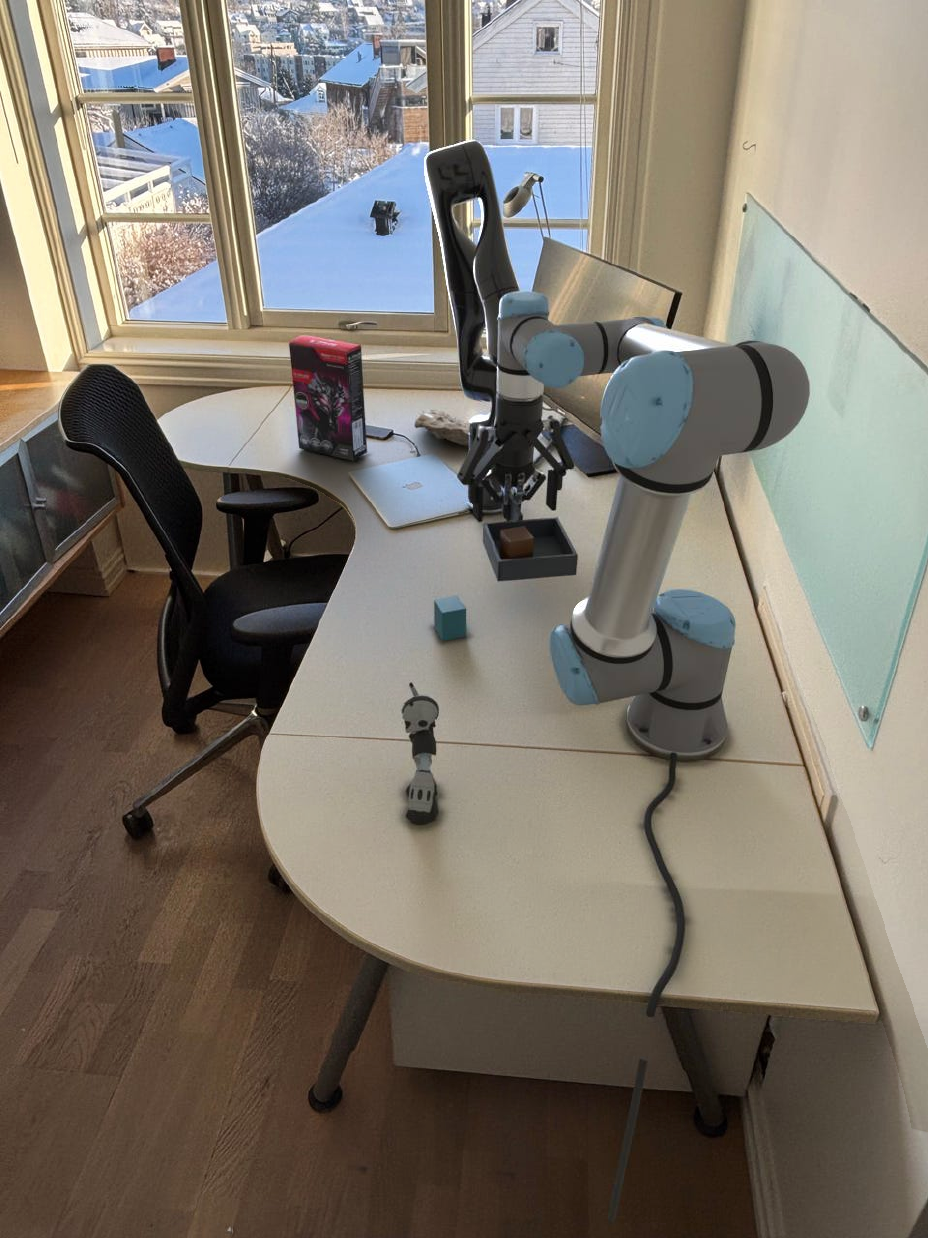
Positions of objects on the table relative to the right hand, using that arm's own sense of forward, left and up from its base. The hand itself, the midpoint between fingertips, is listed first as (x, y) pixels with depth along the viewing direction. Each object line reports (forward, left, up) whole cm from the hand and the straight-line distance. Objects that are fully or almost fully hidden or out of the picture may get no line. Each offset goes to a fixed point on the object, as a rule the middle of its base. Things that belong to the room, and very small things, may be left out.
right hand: (514, 512), depth 159 cm
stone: (+75, +33, -21) cm, 84 cm away
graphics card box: (+59, +59, -21) cm, 86 cm away
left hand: (+17, +4, -11) cm, 21 cm away
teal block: (-9, +9, -21) cm, 24 cm away
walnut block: (0, -1, -10) cm, 10 cm away
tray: (+8, 0, -11) cm, 14 cm away
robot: (-51, +1, -21) cm, 55 cm away
